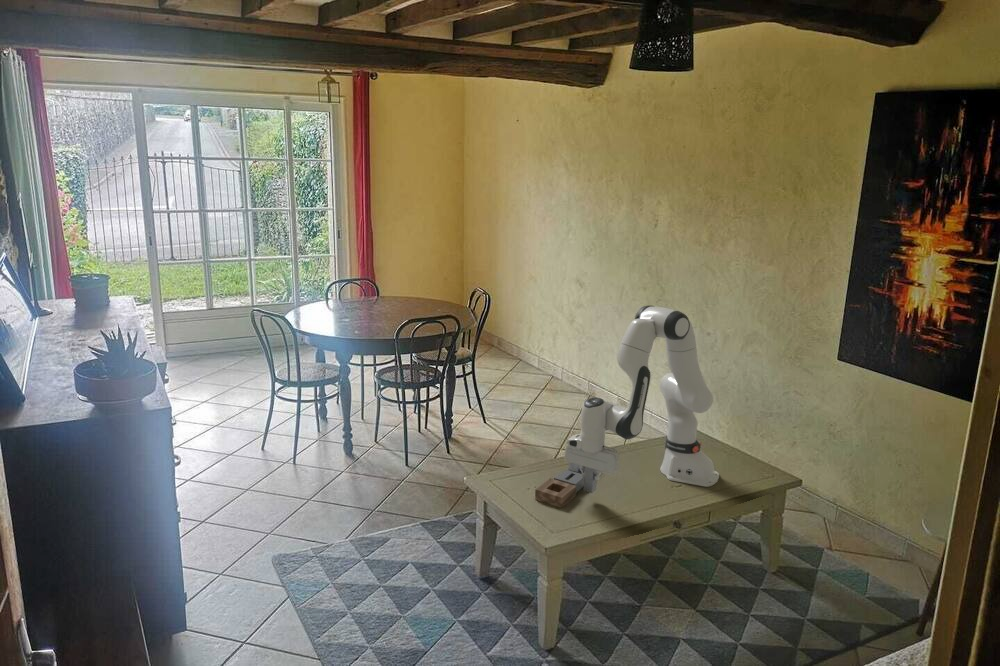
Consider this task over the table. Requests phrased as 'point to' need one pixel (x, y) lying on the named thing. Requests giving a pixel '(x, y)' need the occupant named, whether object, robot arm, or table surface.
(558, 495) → the walnut bore block
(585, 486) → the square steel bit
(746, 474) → the table surface
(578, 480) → the grey slot block
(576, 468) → the medicine box
